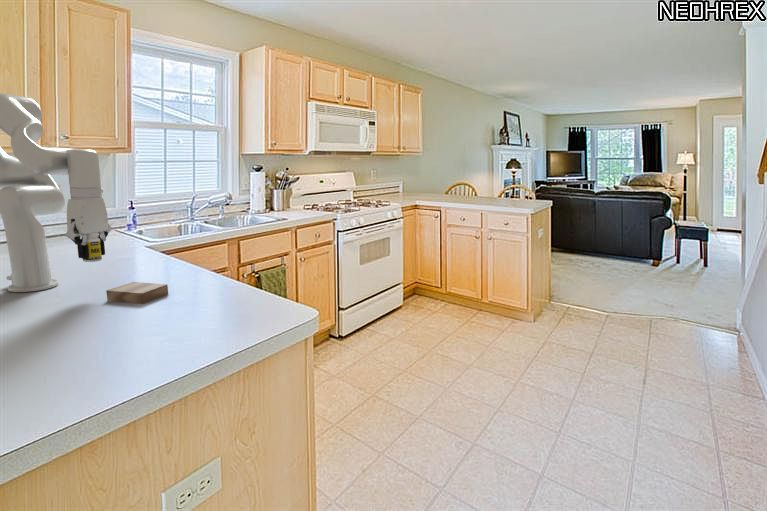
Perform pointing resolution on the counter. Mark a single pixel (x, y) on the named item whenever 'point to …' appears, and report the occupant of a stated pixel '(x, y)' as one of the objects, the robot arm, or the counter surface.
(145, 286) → the walnut base
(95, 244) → the supplement bottle
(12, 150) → the robot arm
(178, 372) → the counter surface
